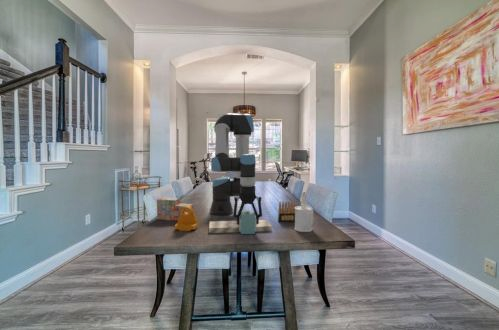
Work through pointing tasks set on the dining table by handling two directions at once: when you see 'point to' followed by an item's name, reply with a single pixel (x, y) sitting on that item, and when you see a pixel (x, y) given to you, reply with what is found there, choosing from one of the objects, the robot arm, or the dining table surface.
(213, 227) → the board
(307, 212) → the white smoke grenade
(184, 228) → the orange bell-shaped figure
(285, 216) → the ammunition clip
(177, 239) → the dining table surface
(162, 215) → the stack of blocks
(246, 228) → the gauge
